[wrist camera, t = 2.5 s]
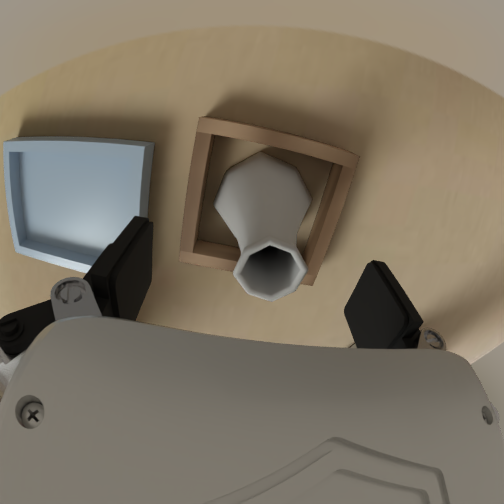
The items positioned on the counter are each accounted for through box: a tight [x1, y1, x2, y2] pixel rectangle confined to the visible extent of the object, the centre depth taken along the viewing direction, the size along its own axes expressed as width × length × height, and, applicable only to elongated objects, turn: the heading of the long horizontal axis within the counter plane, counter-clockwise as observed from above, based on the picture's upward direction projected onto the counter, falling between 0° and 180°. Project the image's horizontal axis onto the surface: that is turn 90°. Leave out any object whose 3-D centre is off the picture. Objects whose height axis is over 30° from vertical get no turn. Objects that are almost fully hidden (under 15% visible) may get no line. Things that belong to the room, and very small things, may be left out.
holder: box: [179, 116, 360, 286], centre depth 20 cm, size 11×11×2 cm
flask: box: [213, 152, 312, 302], centre depth 16 cm, size 7×7×10 cm
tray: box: [4, 136, 155, 273], centre depth 19 cm, size 16×12×2 cm
